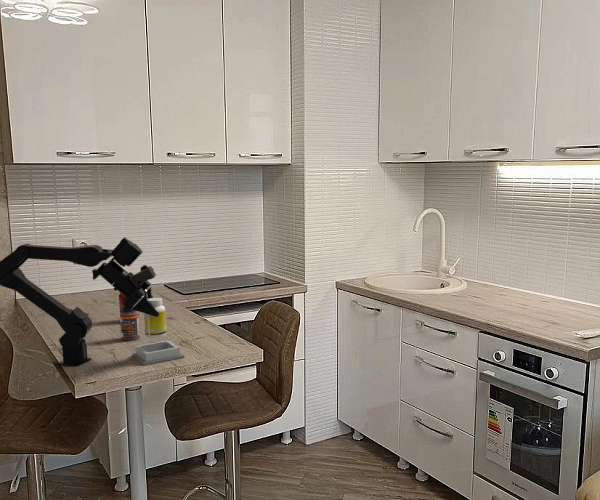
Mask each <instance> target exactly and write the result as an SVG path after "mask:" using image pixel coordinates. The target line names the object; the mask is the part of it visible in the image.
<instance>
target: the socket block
mask: <svg viewBox="0 0 600 500" xmlns="http://www.w3.org/2000/svg"><path fill="white" fill-rule="evenodd" d="M180 349H181V348H180V347H179V346H178V345H176V344H174V343H173V342H172V341H170V340H164V341H163V340H162V341H157V342H152V343H151V342H150V343H146V344H140V345H136V346H135V350H136V352H134V353H132V354H131V355H132V356H133V358H135V359H136V360H137V361H138V362H139V363H140V364H141V365H143V366H150V365H154V364H160V363H164V362H170V361H174V360H179V359H185V355H184V354H183V353H181V350H180Z"/></svg>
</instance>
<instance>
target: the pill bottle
mask: <svg viewBox="0 0 600 500" xmlns="http://www.w3.org/2000/svg"><path fill="white" fill-rule="evenodd" d="M148 301H149V302H150V303H151V304H152V305H153V307H154V308H155V309H156V310H157V311H158V313H159V316H158V317H155V316H152V315H149V314H146V313H143V317H144V318H143V320H144V333H145V334H144V335H145V337H146V338H147V339H158V338H163V337H165V336H167V332H168V331H167V318H166V317H167V313H166V307H165V306H164V305H162V304H163V298H162V297H154V298H150V299H148Z"/></svg>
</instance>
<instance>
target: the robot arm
mask: <svg viewBox="0 0 600 500" xmlns="http://www.w3.org/2000/svg"><path fill="white" fill-rule="evenodd" d="M142 254H143V250H142V249H141V248H140V246H138V245H137V244H136V243H134V242H132V241H131V240H130V239H128V238H127V237H123V238H122V239H121V240H120V242H119V243H118V244H117V245H116V246H115V248H113V249H110V248H109V249H108V248H107V249H106V248H102V246H100V245H98V244H89V245H81V246H74V247H69V246H52V245H39V244H30V243H23V244H20V245H19V246H17V247H16V248H15V250H14V251H12V252H11V253H9V254H8V255H7V256H6V257H4V258H3V259H2V260H0V286H1V287H3V288H7V289H10V290H12V291H15V292H17V293H18V294H19V295H20V296H22V297H24V299H26V300H28V301H29V302H30V303H31V304H33V305H35V306H36V307H37V308H39V309H40V310H41V311H43V312H44V313H46V314H47V315H48V316H50V317H51V318H53V319H54V320H55V321H56V322H57V323H58V325H59V326H60V328H61V329H62V330H63V331H64V333H63V335H62V336H61V337H60V338H58V342H59V344H60V346H61V352H62V361H60V362H58V363H59V365H62V366H69V367H70V366H71V367H77V366H80V365H82V364H85V363H88V362H89V361H91V360H92V358H91V357H88V346H87V343H86V341H87V340H86V336H87V334H89V332H90V331H91V329H92V328H93V322H92V319H91V317H89V313H87V312H84V311H83V310H82V309H81V308H80V307H78V306H76V307H75V308H74V309H71V308H69V307H66V306H65V305H63V303H61V302H60V301H58V300H57V299H56V298H54V297H53V296H51V295H50V294H49V293H47V292H46V291H44V290H43V289H42V288H41V287H39V286H38V285H36V284H35V283H34V282H33V281H31V280H29V279H28V278H27V277H26V276H25V274H24V271H22V269H21V268H20V267H21V266H22V265H24V264H25V263H26V261H28V260H30V259H31V260H45V261H46V260H47V261H60V262H61V261H62V262H71V263H72V264H73V263H74V264H76V265H79V266H80V265H81V266H85V267H88V268H92V267H93V269H92V270H91V272H92V279H93V280H94V281H95V280H96V279H97V278H99V276H100V277H101V278H103V279H104V280H105V281H106V282H107V283H109V284H110V285H111V286H112V287H113V290H114V292H119V294H120V293H121V294H122V295H124V296H125V298H124V299H126V300H125V301H124V302H123V305H124V307H125V308H126V309H127V310H128V311H129V310H130V309H131V308H132V307H133V306H134V307H133V308H132V310H135V311H138V312H139V313H142V314H144V313H146V314H149V315H152V316H155V317H158V316H159V313H158V311H157V310H156V309H155V308H154V307H153V305H152V304H151V303H150V302H149V301H148V299H150V298H155V297H154V296H153V294H152V289H153V288H152V286H151V285H152V283H151V282H149V280H152V279H154V278H155V277H157V273H156V272H155V271H154V268H153V267H152V266H151V265H150V266H149V265H147V264H143V265H142V266H140V271H138V272H136V273H135V274H134V273H133V272H132V271H129V272H128V271H126V270H125V267H126V266H127V267H130V266H132V265H133V264H134V262H135V261H136V260H137V259H138V258H140V256H141V255H142ZM111 257H112V258H111ZM110 258H111V259H110ZM108 259H110V260H109V261H108V262H105V261H107V260H108ZM99 264H100V265H99ZM98 265H99V267H97V268H94V267H96V266H98Z"/></svg>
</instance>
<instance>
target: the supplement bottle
mask: <svg viewBox="0 0 600 500" xmlns="http://www.w3.org/2000/svg"><path fill="white" fill-rule="evenodd" d="M133 307H134V306H133ZM133 307H132V308H133ZM122 308H123V309H122V310H123V311H122V312H121V314H120V313H119V322H120V338H121V340H122V341H127V342H129V341H130V342H131V341H136V340H137V339H140V335H141V334H140V316H139V317H138V312H137V311H135V310H132V308H131V309H130V310H129V311H128V310H127V309H126V308H125V307H124V306H123V307H122Z"/></svg>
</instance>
